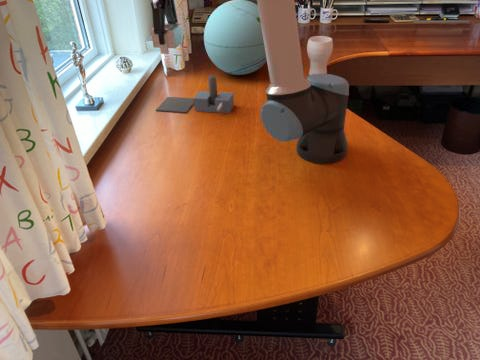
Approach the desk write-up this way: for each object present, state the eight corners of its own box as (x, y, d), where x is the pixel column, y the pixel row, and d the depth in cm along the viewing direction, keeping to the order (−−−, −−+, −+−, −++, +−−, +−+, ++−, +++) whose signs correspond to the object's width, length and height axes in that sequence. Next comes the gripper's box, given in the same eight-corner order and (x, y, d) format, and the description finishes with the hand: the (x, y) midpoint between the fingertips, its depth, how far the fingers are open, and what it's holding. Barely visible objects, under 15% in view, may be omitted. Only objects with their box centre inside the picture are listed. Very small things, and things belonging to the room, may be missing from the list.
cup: (330, 79, 169) (333, 43, 160) (304, 78, 171) (306, 42, 162) (330, 70, 177) (333, 35, 169) (306, 69, 179) (308, 35, 171)
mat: (186, 113, 147) (186, 111, 147) (155, 111, 149) (155, 109, 149) (196, 100, 156) (196, 98, 156) (167, 98, 159) (167, 96, 159)
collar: (175, 48, 136) (173, 30, 132) (153, 47, 137) (150, 29, 134) (183, 41, 142) (181, 23, 139) (162, 40, 144) (160, 23, 140)
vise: (226, 118, 142) (224, 86, 135) (190, 116, 145) (187, 84, 138) (233, 105, 151) (232, 74, 144) (200, 103, 154) (197, 72, 147)
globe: (263, 88, 164) (263, 10, 146) (196, 81, 172) (188, 7, 155) (281, 64, 187) (283, -6, 169) (221, 59, 195) (216, -8, 178)
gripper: (157, -17, 119) (168, 59, 132) (182, -28, 135) (189, 41, 148) (134, -17, 120) (147, 58, 133) (161, -28, 137) (170, 40, 150)
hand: (169, 49), depth 141 cm, fingers closed on collar, 8 cm apart
